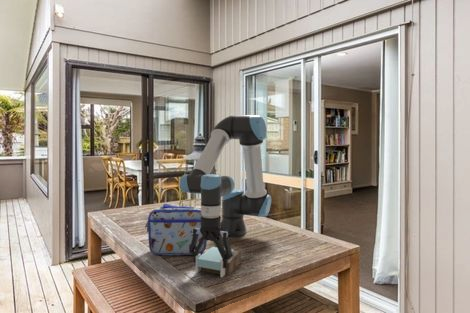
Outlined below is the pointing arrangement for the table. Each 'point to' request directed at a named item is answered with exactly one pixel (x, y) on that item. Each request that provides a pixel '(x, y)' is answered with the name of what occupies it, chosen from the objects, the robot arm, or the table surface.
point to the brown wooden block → (231, 264)
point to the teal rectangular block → (211, 259)
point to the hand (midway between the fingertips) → (210, 273)
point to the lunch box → (173, 229)
